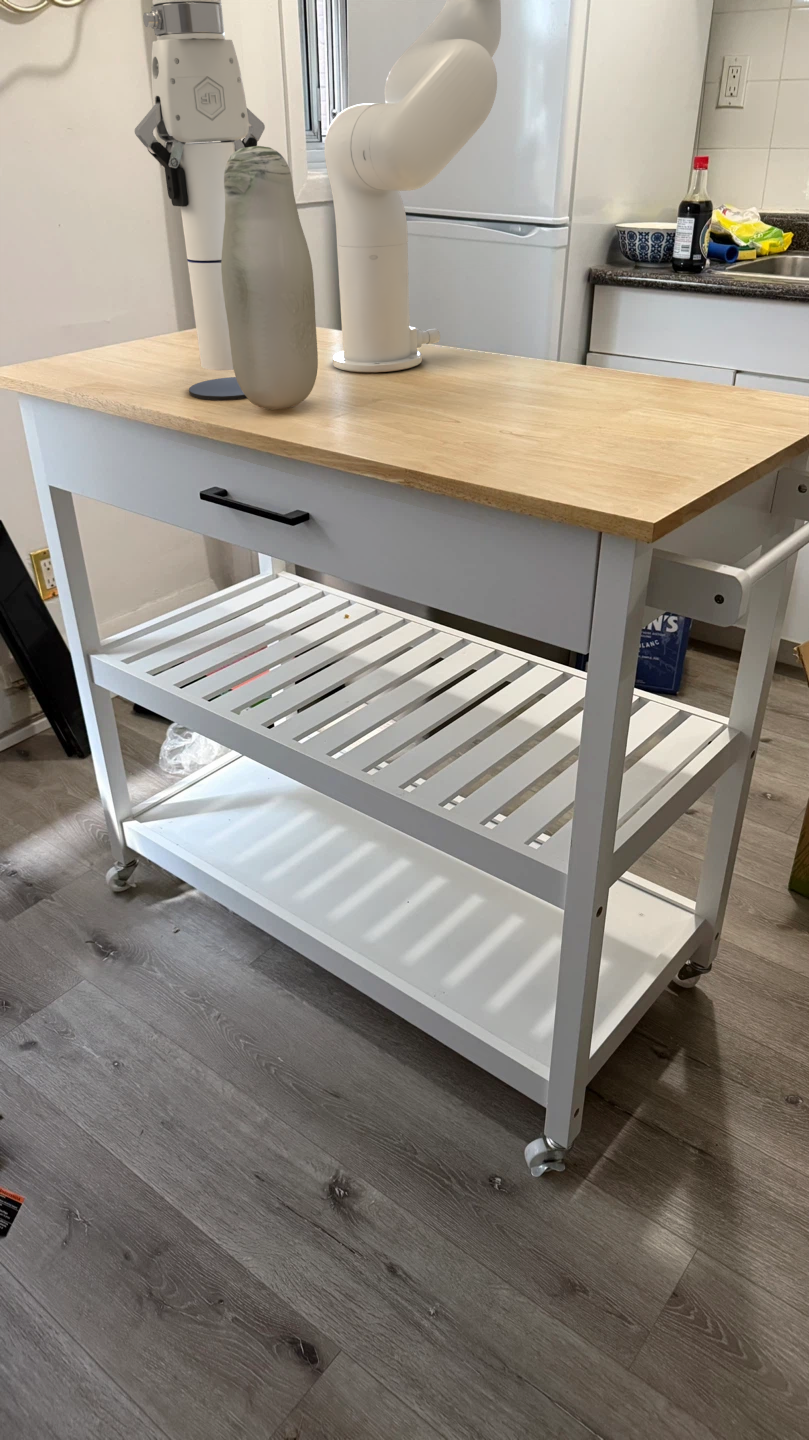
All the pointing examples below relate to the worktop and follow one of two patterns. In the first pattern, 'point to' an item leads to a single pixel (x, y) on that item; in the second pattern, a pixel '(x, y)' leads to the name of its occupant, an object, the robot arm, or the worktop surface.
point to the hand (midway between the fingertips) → (210, 202)
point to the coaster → (217, 389)
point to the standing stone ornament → (267, 281)
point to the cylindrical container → (207, 247)
